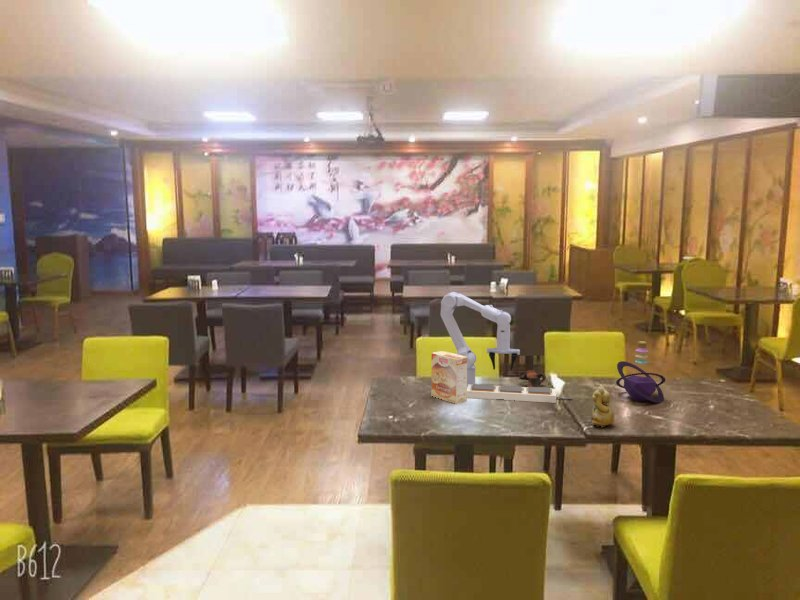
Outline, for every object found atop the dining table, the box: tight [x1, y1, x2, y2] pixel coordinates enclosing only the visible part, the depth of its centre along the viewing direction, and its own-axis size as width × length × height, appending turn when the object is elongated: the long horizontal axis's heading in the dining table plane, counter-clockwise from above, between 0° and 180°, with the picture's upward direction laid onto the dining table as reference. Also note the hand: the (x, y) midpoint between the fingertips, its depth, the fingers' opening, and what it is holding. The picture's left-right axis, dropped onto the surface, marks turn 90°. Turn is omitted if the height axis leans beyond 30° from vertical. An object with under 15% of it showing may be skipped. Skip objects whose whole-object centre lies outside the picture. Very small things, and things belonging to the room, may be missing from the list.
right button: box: [528, 386, 551, 395], centre depth 275 cm, size 9×7×2 cm
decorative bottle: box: [615, 340, 667, 404], centre depth 272 cm, size 22×21×25 cm
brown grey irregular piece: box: [518, 369, 547, 387], centre depth 295 cm, size 12×10×8 cm
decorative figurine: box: [591, 383, 615, 428], centre depth 240 cm, size 10×8×15 cm
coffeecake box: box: [430, 350, 468, 405], centre depth 273 cm, size 15×7×20 cm, turn 42°
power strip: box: [467, 384, 573, 404], centre depth 277 cm, size 45×11×3 cm, turn 79°
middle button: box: [499, 385, 523, 393], centre depth 277 cm, size 9×7×2 cm
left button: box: [472, 383, 495, 392], centre depth 279 cm, size 9×7×2 cm
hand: (502, 369), depth 287 cm, fingers open, 7 cm apart
